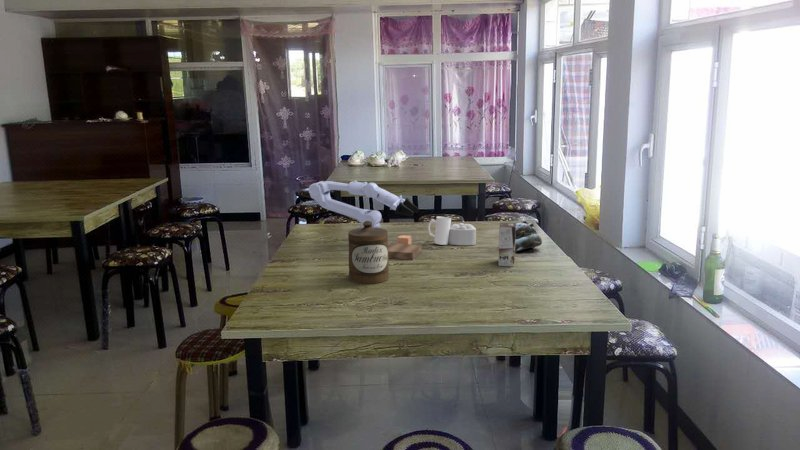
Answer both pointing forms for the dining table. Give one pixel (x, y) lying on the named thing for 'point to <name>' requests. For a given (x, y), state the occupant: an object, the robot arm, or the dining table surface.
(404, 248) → the walnut base
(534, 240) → the lucky cat figurine
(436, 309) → the dining table surface
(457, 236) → the lumpy-topped squat cylinder
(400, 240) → the terracotta cube
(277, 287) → the dining table surface
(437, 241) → the mug
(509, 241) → the coffee box
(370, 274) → the wooden container
